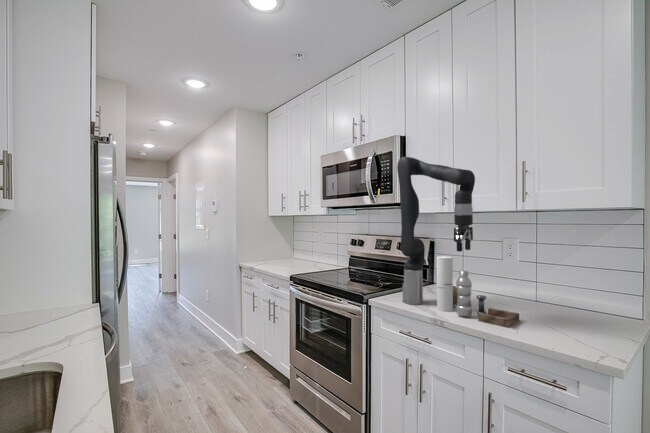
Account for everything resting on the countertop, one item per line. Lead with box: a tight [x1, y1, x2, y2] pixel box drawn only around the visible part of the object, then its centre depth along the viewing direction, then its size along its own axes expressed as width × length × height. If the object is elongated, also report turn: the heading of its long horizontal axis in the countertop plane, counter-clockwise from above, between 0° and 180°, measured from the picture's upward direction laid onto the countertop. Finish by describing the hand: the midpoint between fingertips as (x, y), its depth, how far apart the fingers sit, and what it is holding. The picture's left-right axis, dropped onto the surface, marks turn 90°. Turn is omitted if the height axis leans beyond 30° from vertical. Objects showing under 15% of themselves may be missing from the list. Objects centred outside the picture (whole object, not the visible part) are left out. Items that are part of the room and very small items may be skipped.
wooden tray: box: [477, 307, 520, 329], centre depth 139 cm, size 12×13×3 cm
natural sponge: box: [453, 285, 458, 307], centre depth 163 cm, size 9×9×10 cm
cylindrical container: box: [436, 255, 454, 312], centre depth 156 cm, size 7×7×25 cm
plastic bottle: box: [455, 270, 473, 318], centre depth 145 cm, size 6×7×20 cm
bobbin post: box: [476, 294, 487, 315], centre depth 149 cm, size 4×4×8 cm
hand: (463, 250), depth 145 cm, fingers open, 8 cm apart
